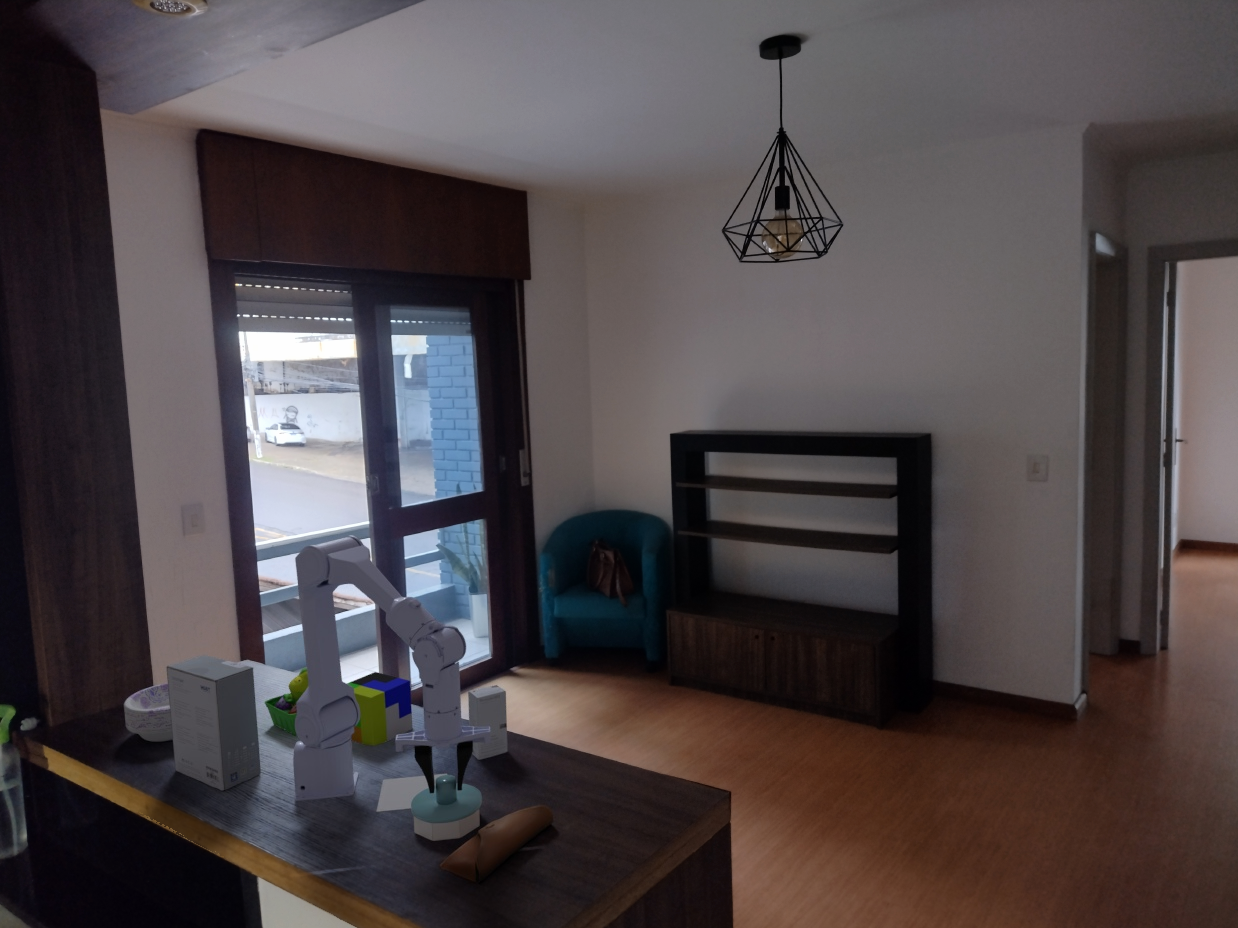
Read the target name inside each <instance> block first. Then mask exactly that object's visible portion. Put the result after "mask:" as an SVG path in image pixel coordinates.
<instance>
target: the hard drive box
mask: <svg viewBox="0 0 1238 928" xmlns="http://www.w3.org/2000/svg"><path fill="white" fill-rule="evenodd" d="M165 668H166V677H167V683H168V691H169V703H170V715H171V726H172V738H173V740H172V745H173V746H172V747H173V748H172V749H173V758H174V770H175V771H176V772H178V773H181V774H183V775H184V776H187V777H189V778H192V779H195V780H197V781H198V782H199V781H200V782H202V783H204V784H206V785H208V786H210V787H211V788H216V789H218V790H219V791H222V792H223V791H224V790H225V791H226V790H228V789H231V788H233V787H235V786H237V785H239V784H242V783H244V782H246V781H248V780H251V779H252V778H255V777H257V776H259V775H261V771H262V770H261V760H260V759H261V757H260V756H261V755H260V743H259V731H258V730H259V729H258V719H257V717H258V716H257V706H256V703H257V702H256V689H255V676H254V667H252V666H249V665H245V664H241V663H238V662H235V661H230V660H226V659H223V658H219V657H215V656H211V655H208V654H207V655H206V654H201V655H198V656H195V657H191V658H188V659H185V660H181V661H178V662H175V663H172V664H169V665H167V666H166V667H165Z"/></svg>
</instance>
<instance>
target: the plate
mask: <svg viewBox="0 0 1238 928" xmlns="http://www.w3.org/2000/svg"><path fill="white" fill-rule="evenodd" d="M443 775H448V773H440V774H439V773H438V774H434V781H435V780H436V779H437V778H438V777H440V776H443ZM435 786H436V783H435ZM427 788H429V787H428V783H427V780H426V778H425V775H418V776H407V777H397V778H387V779H383V780H382V784H381V788H380V794H379V798H378V803H377V808H376V813H381V812H382V813H383V812H391V811H401V810H403V811H404V810H411V802H412V800H413V798H414V797H415V796H416V795H417V794H418V793H420V792H421V791H423V790H425V789H427Z"/></svg>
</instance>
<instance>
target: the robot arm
mask: <svg viewBox="0 0 1238 928" xmlns="http://www.w3.org/2000/svg"><path fill="white" fill-rule="evenodd" d="M294 562H295V570H296V579H297V592H298V600H299V610H300V617H301V619H300V620H301V626H302V636H303V638H302V639H303V647H304V655H305V663H306V664H305V665H306V667H307V674H308V684H309V686H308V688H307V689H306V690H305V692H304V693H303V694H302V696H301V697H300V698H299V700H298V701H297V703H296V706H297V715H296V718H295V731H296V734H297V735H296V736H297V737H298V739H299V740H297V741H296V742H295V745H294V749H293V756H292V757H293V758H292V761H293V762H292V763H293V766H292V767H293V779H294V781H293V782H294V793H295V795H294V796H295V797H294V801H295V802H300V801H310V800H321V799H331V798H343V797H351V796H354V793H355V791H356V787H357V783H358V779H359V774H360V773H359V772H358V771H355V772H354V762H353V761H354V760H353V746H352V745H353V741H351V735H352V734H353V733H354V726H356V725H357V724H358V722H359V720H360V708H359V705H358V703H357V701H356V698H355V694H354V688H353V687H352V686H350V685H348V684H347V682H344V681H343V677H342V669H341V667H342V666H341V660H340V659H341V658H340V649H339V641H338V628H337V620H336V612H335V610H336V609H335V601H334V592H335V590H337V588H338V587H339V586H340V585H354V587H355V588H356V589H358V590H359V591H360V592H361V593H362V594H364V595H365V596H366V597H367V598H368V599H370V600H371V601H372V602H373V603H374V604H376V605H377V606H378V607H379V608H380V609H381V610H383V611H384V612H385V623H386V625H387V627H389V628H390V629H391V630H392V631H393V632H394V633H395V634H396V635H397V636H398V637H399V639H401V640H402V641H403V642H404V643H405V644H406V645H407V646H408V647H409V648H410V649H411V650H412V652H411V656H412V660H413V663H414V665H415V666H416V668H417V670H418V676H419V678H418V679H419V680H420V681H421V684H422V687H421V688H422V702H423V705H422V706H423V707H422V708H423V724H424V725H423V726H424V727H423V728H424V729H420V730H416V731H411V732H408V733H407V732H405V733H402V734H400V735H396V737H395V738H394V739H395V752H397V753H398V752H403V751H404V750H409V749H414V755H413V756H414V760H415V762H416V763H417V764H418V766H419V768H420V769H421V771H422V773H423V776H425V778H426V780H427V783H428V787H429V792H430V793H434V789H435V781H434V775H435V774H434V773H435V772H434V766H433V765H434V764H433V763H434V762H433V747H435V748H436V749H438V750H439V749H447V748H450V747H451V746H453V745H456V761H457V762H456V764H457V777H456V783H457V790H458V791H459V790H462V784H464V783H463V782H464V777H465V772H466V770H467V766H468V765H469V762H470V759H471V758H472V756H473V754H472V752H473V743H477V742H484V743H485V744H486V743H491V733H490V727H473V726H469V725H462V723H463V722H462V703H461V701H462V700H461V697H462V696H461V677H460V674H461V673H460V662H459V661H461V660H462V659H463V658H464V656H465V655H466V653H467V642H466V639H465V637H464V635H463V633H462V632H461V631H460V629H459V628H458V627H456V626H455V625H451V624H445V623H444V622H439V621H438V619H436V618H435V617H434V616H433V615H432V614H431V613H430V612H429V611H428V610H427V609H426V608H425V607H424V606H423V605H422V602H421V601H419V599H418V598H415V597H412V596H402V595H401V594H400V592H399V591H398V590H397V589H396V588H395V587H394V585H392V583H391V582H390V581H389V580H388V579H387V577H386V576H385V575H384V574H383V573H382V571H381V570H380V569H379V568H378V567H377V566H376V565H375V564H374V562H373V561H372V560H371V552H370V549H369V547H367V546H366V545H365V544H364V543H363V542H362V540H360V538H359V537H356V536H355V535H345V536H344V537H343V538H338V539H333V540H330V541H329V540H328V541H326V542H322V543H321V542H320V543H317V544H309V545H307V546H305V547H304V548H302V549H301V550H300V551H299V553H298V554H297V555H296V556H295V559H294Z"/></svg>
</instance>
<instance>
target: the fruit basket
mask: <svg viewBox="0 0 1238 928" xmlns="http://www.w3.org/2000/svg"><path fill="white" fill-rule="evenodd" d="M308 686H309V684H308V674H307V666H306V667H303V668H302V669H301V670H300V672H299V674H298V675H297V676H295V677H294V678H293V679H292V680H291V681H290V682H289V684H288V690H289V692H290V693H284V694H282V695H279V696H276V697H272V698H269V699H267V700H265V701H264V704H265V706H266V708H267V711H268V712H269V716H270V718H271V721H272V724H273V725H274V726H275V727H278V728H279V729H281V730H284V731H286V732H288V733H289V734H291V735H293V736H297V734H296V731H295V718H296V715H297V706H296V703H297V701H298V700H299V698H300V697H301V696H302V694H303V693H304V692H305V690H306V689H307V688H308Z"/></svg>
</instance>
